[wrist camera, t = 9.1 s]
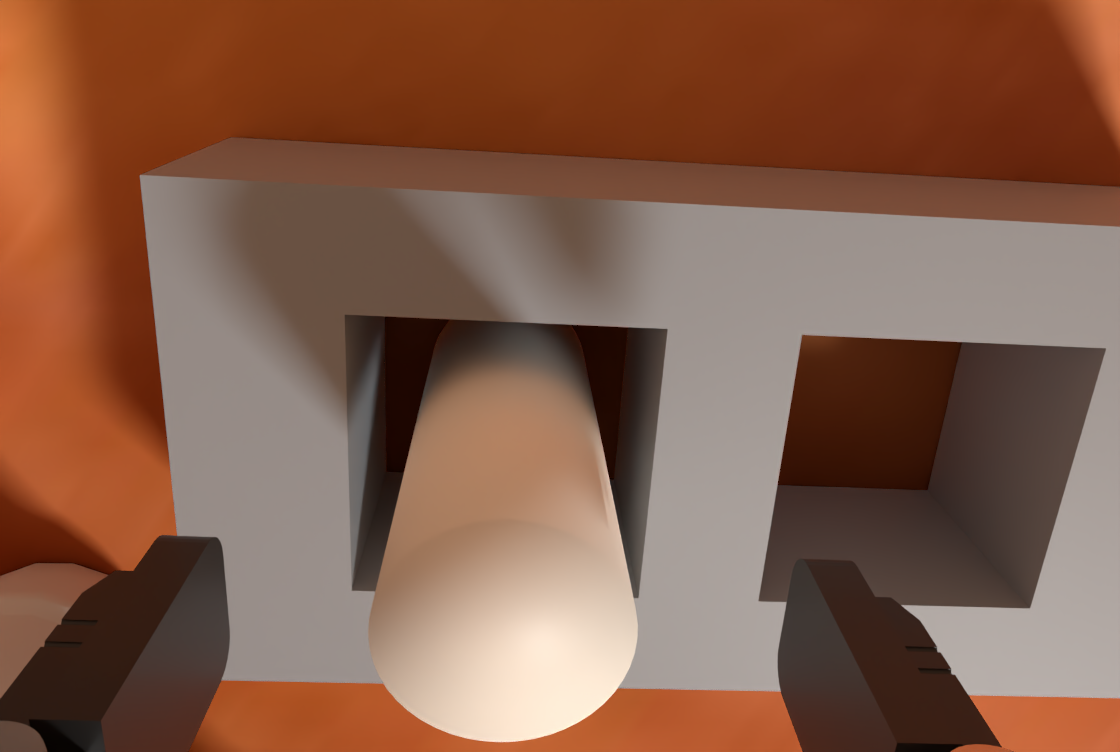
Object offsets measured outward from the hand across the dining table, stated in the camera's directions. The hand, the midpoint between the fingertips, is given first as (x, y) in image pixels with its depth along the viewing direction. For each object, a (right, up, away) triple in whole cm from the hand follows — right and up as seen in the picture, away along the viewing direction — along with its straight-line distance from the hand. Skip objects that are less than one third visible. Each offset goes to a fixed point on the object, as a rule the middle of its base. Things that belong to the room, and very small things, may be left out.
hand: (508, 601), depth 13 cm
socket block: (+3, +3, +9) cm, 10 cm away
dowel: (0, +3, +9) cm, 9 cm away
